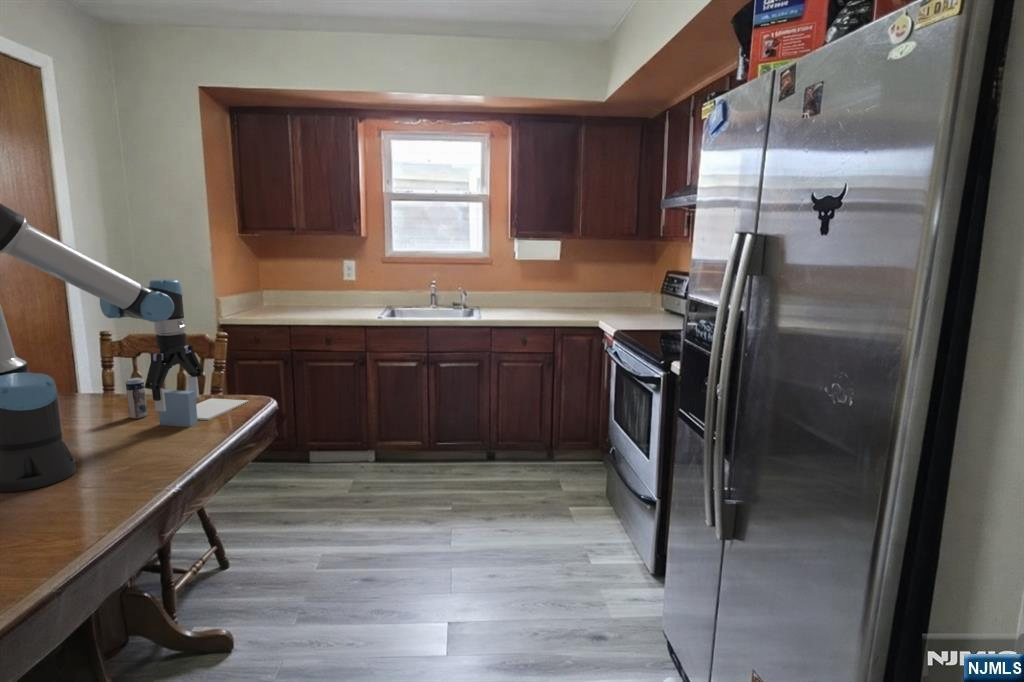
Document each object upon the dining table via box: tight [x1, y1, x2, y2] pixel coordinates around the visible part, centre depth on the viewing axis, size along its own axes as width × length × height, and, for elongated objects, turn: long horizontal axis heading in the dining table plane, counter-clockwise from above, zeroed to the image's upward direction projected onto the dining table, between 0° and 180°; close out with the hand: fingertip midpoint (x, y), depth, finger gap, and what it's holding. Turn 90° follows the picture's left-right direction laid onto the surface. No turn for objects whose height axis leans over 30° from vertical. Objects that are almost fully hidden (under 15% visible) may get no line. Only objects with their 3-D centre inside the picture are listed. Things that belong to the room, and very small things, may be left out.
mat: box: [196, 397, 250, 421], centre depth 178 cm, size 20×14×1 cm
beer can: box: [125, 377, 148, 420], centre depth 169 cm, size 5×5×12 cm
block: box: [158, 389, 199, 428], centre depth 163 cm, size 3×10×10 cm, turn 82°
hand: (178, 403), depth 163 cm, fingers open, 13 cm apart
